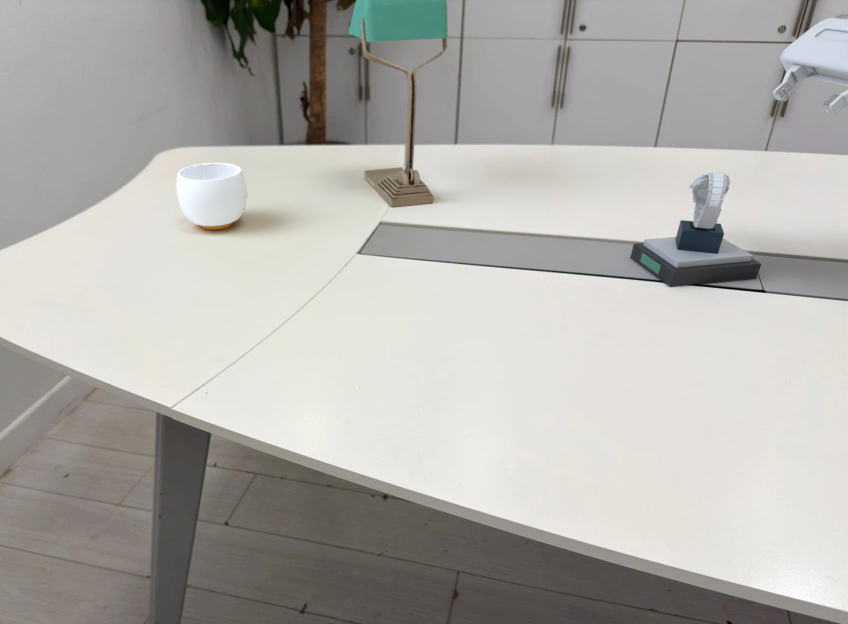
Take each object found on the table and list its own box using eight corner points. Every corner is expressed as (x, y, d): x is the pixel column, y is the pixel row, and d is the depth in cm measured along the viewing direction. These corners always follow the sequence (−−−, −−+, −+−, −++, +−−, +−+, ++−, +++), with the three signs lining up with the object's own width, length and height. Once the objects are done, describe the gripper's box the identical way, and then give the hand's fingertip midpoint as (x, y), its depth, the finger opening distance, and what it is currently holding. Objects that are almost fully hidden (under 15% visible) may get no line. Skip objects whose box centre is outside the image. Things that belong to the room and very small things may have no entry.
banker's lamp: (372, 208, 129) (375, -2, 109) (346, 178, 146) (344, -9, 126) (450, 201, 132) (466, -5, 112) (415, 172, 148) (423, -12, 129)
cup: (191, 241, 116) (183, 185, 111) (175, 219, 126) (167, 167, 120) (258, 229, 120) (254, 175, 115) (238, 209, 130) (233, 158, 124)
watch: (713, 238, 104) (735, 167, 98) (719, 258, 98) (743, 183, 92) (673, 235, 106) (693, 164, 100) (677, 254, 99) (698, 179, 93)
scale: (710, 250, 109) (716, 230, 107) (756, 278, 100) (764, 257, 98) (628, 257, 107) (633, 237, 105) (668, 286, 98) (674, 265, 96)
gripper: (826, -4, 95) (741, 75, 99) (961, 6, 78) (852, 100, 82) (841, 30, 98) (759, 105, 102) (975, 47, 81) (870, 136, 85)
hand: (802, 103), depth 92 cm, fingers open, 8 cm apart
